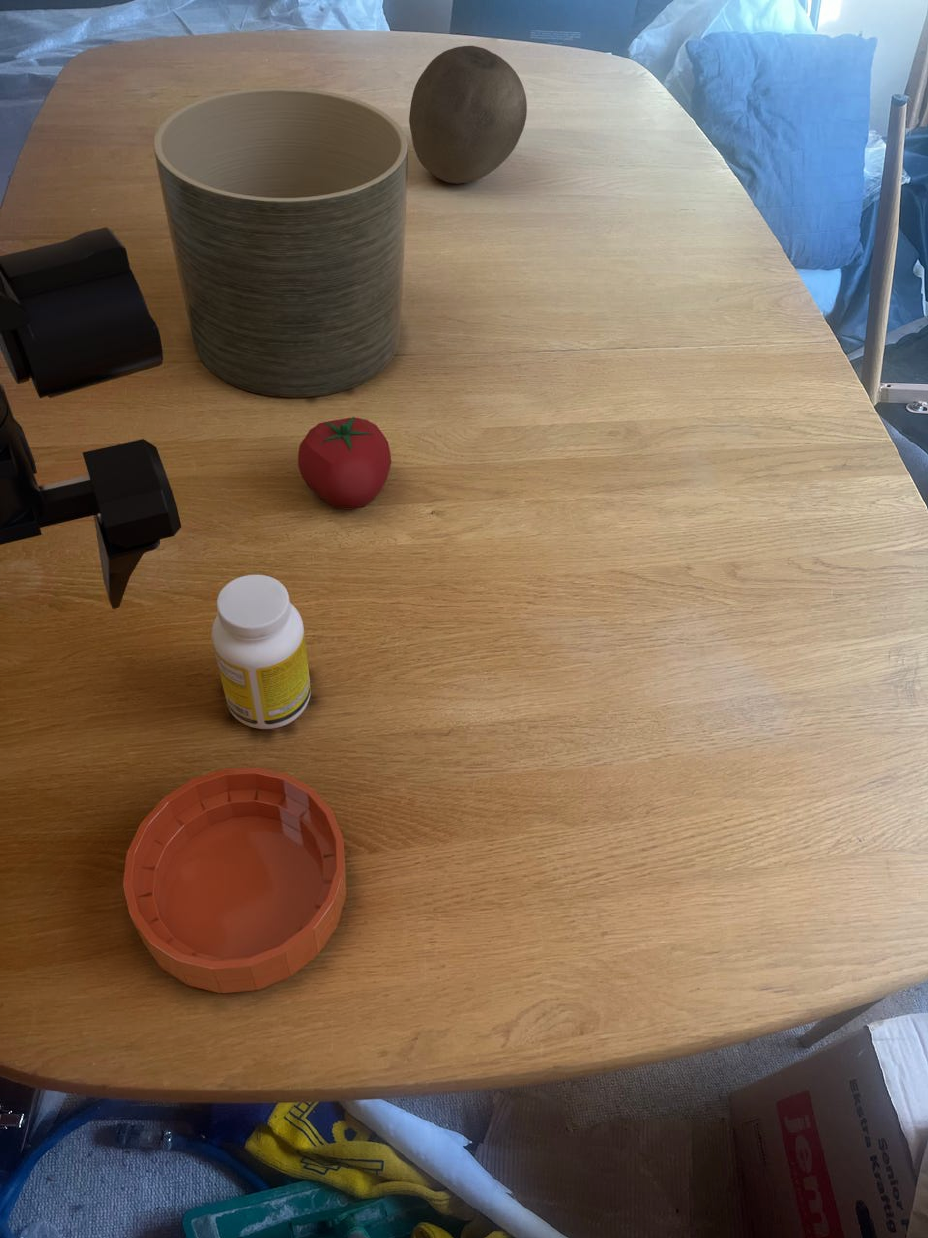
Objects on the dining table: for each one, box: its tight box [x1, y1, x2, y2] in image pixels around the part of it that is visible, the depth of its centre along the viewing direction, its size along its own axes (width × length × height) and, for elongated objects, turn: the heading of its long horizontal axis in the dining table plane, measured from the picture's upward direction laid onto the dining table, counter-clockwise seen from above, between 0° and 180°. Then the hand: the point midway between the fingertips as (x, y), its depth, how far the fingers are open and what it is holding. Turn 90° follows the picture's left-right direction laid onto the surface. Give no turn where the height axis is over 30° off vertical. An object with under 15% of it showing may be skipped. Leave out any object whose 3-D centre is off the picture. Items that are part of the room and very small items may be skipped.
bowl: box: [122, 766, 347, 994], centre depth 60 cm, size 13×13×4 cm
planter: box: [152, 86, 409, 398], centre depth 93 cm, size 22×22×20 cm
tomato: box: [297, 416, 392, 510], centre depth 83 cm, size 8×8×7 cm
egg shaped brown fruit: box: [408, 45, 528, 184], centre depth 119 cm, size 14×14×15 cm
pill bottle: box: [211, 574, 312, 730], centre depth 67 cm, size 6×6×11 cm
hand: (36, 624), depth 58 cm, fingers open, 9 cm apart
